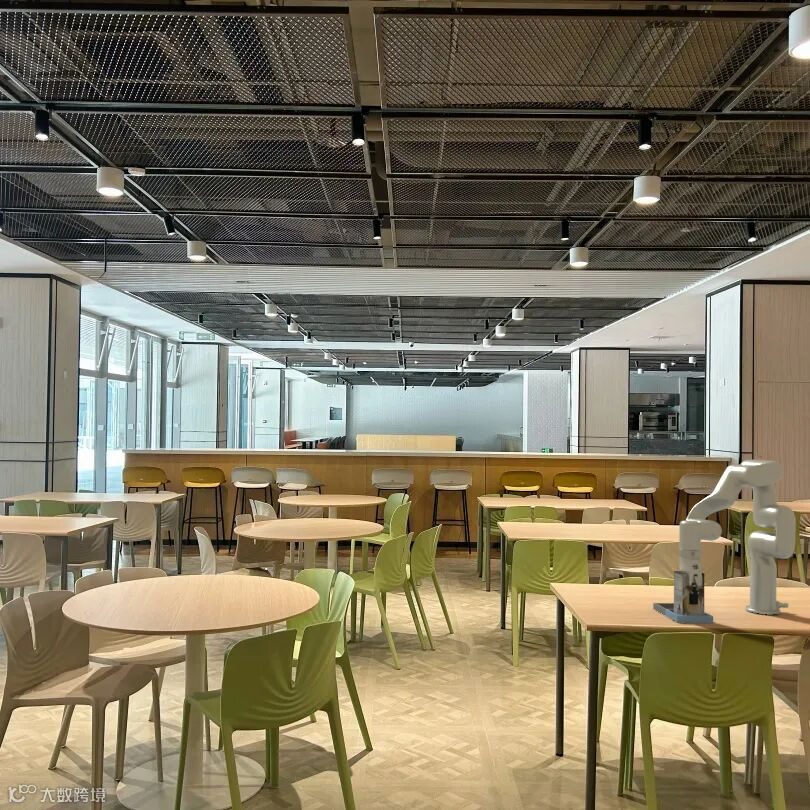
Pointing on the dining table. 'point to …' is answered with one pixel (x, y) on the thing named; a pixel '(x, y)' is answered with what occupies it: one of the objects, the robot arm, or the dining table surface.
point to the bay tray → (668, 611)
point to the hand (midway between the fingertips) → (689, 601)
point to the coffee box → (686, 596)
